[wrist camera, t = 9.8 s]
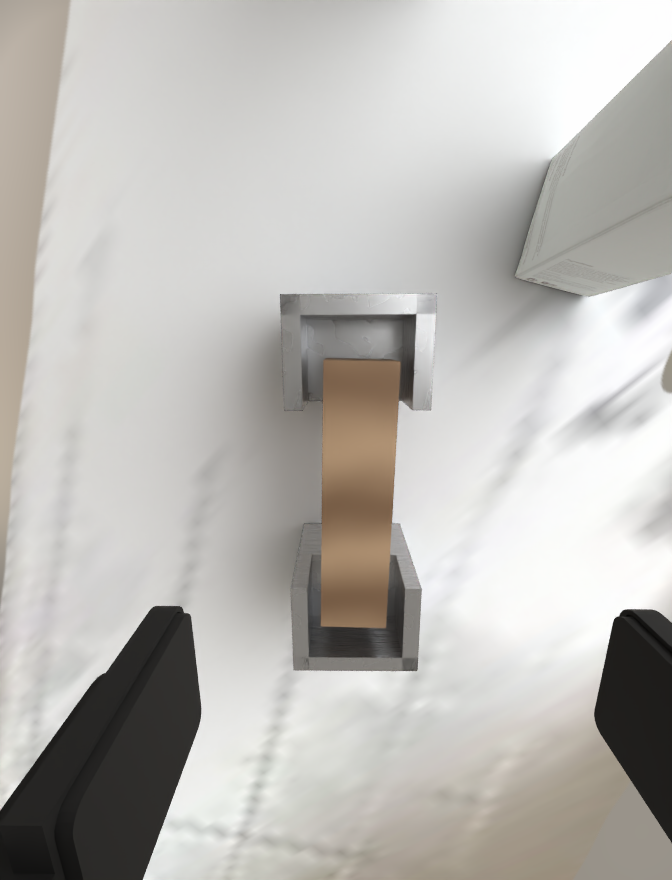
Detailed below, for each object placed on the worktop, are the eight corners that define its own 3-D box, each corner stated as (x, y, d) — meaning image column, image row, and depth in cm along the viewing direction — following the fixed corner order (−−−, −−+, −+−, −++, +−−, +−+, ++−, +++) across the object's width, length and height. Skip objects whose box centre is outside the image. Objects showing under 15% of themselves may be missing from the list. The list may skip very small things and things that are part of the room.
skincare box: (586, 298, 28) (844, 246, 14) (506, 277, 28) (684, 202, 13) (633, 171, 26) (991, -45, 12) (548, 147, 26) (809, -104, 12)
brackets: (298, 310, 29) (280, 294, 20) (407, 309, 28) (437, 293, 20) (305, 587, 34) (293, 670, 25) (397, 587, 34) (417, 671, 25)
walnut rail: (326, 357, 24) (323, 360, 20) (390, 358, 24) (400, 361, 20) (323, 583, 28) (320, 626, 24) (378, 584, 28) (385, 627, 24)
